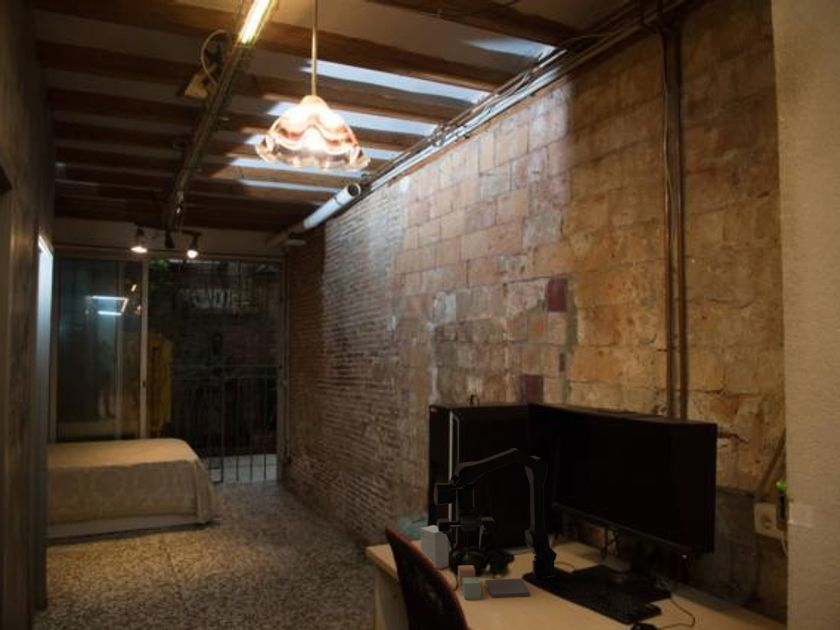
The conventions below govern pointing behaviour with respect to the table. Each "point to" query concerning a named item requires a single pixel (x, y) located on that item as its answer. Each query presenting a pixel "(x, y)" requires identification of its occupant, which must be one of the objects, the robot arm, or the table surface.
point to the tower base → (507, 588)
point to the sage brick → (471, 588)
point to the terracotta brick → (465, 572)
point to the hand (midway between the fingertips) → (466, 550)
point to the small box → (435, 545)
